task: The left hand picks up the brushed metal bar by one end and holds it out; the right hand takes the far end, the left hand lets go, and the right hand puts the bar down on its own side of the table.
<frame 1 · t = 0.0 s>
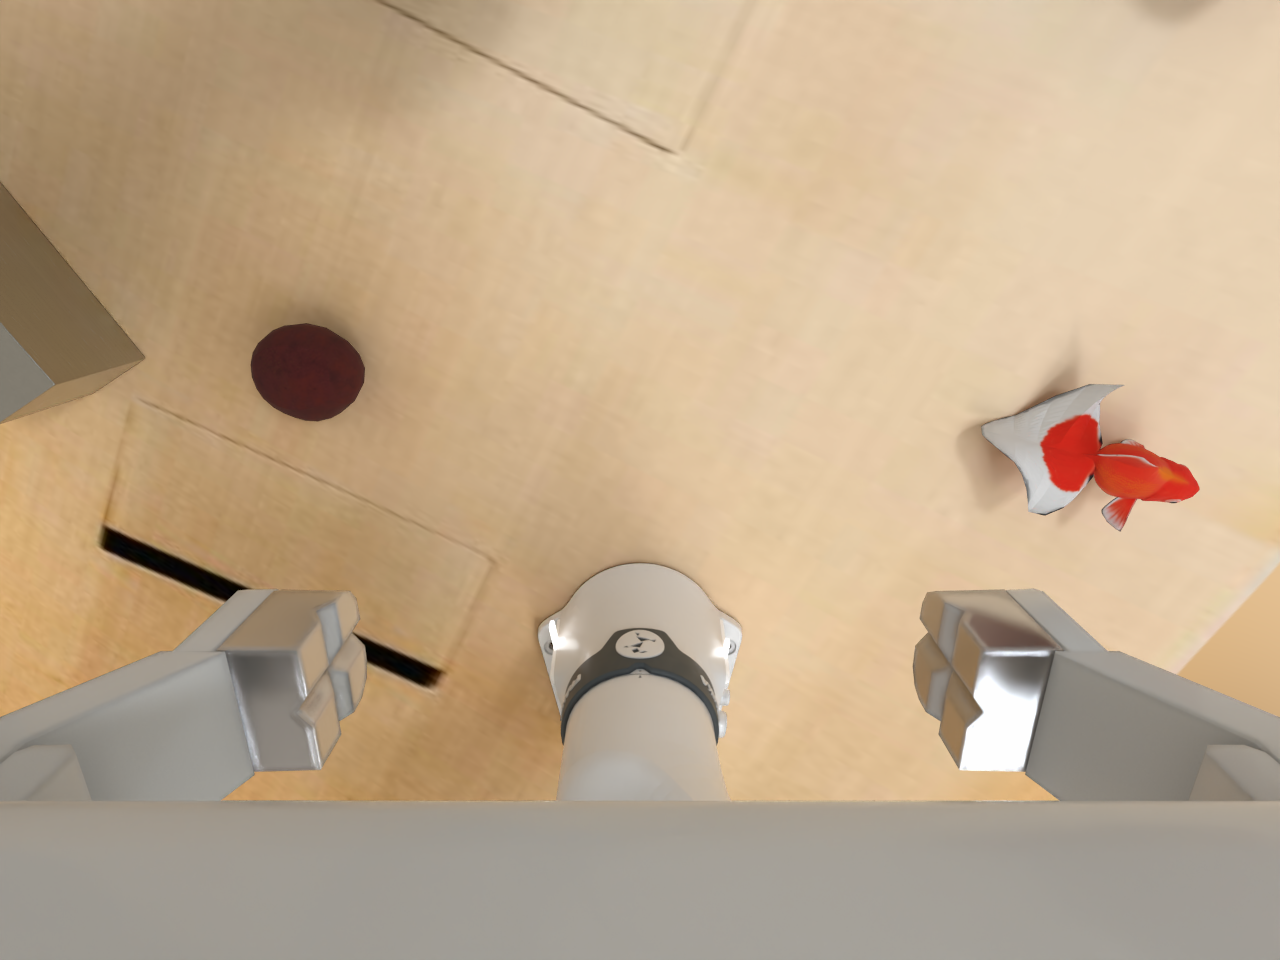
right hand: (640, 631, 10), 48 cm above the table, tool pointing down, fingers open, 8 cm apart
fish: (1055, 446, 60), on the table
dark red ball: (330, 363, 57), on the table
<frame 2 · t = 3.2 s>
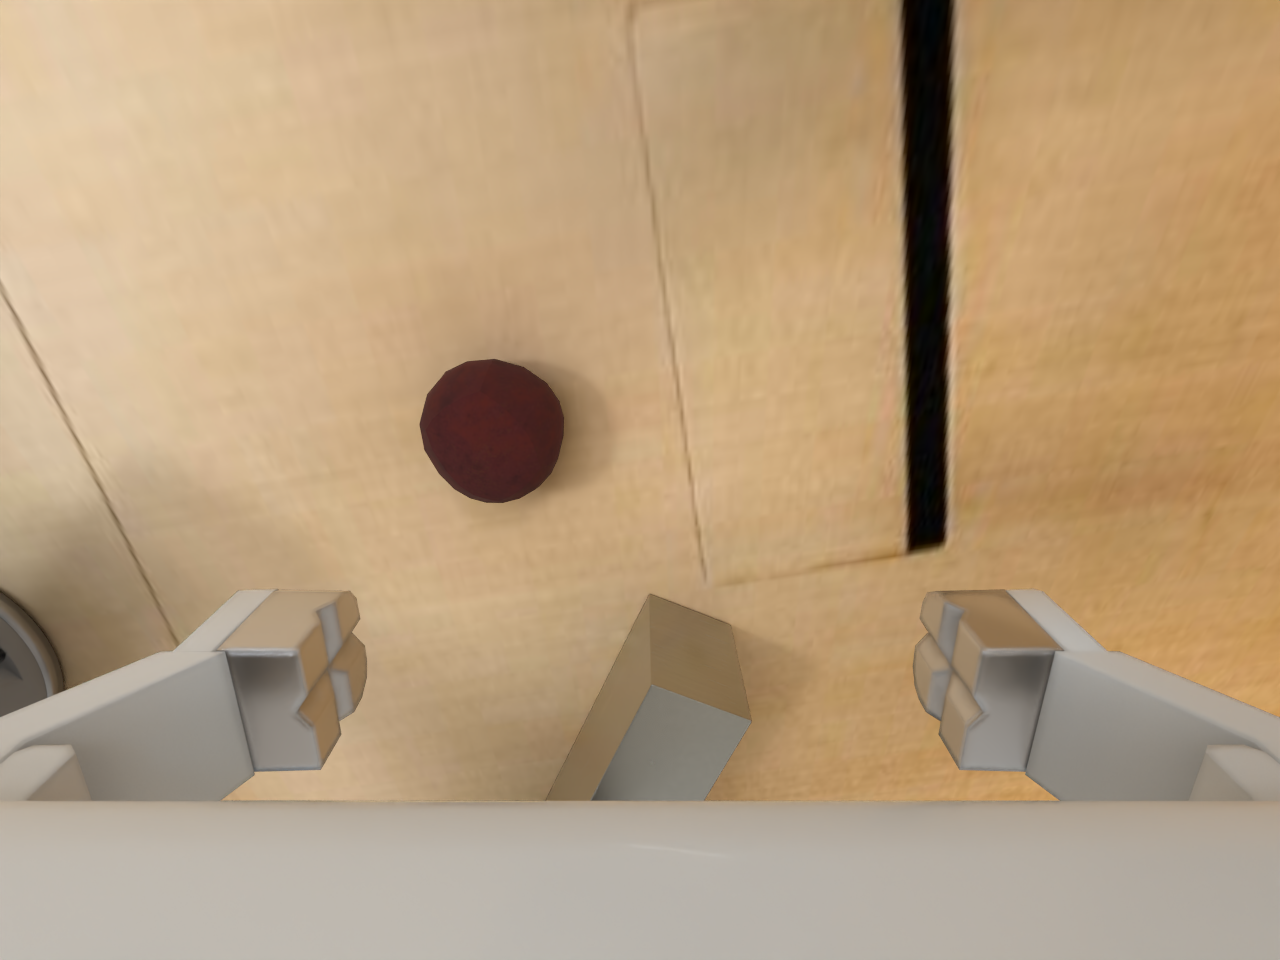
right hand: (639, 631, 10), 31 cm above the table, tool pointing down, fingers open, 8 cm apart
dark red ball: (506, 410, 41), on the table
bar: (610, 759, 50), on the table, touching left hand
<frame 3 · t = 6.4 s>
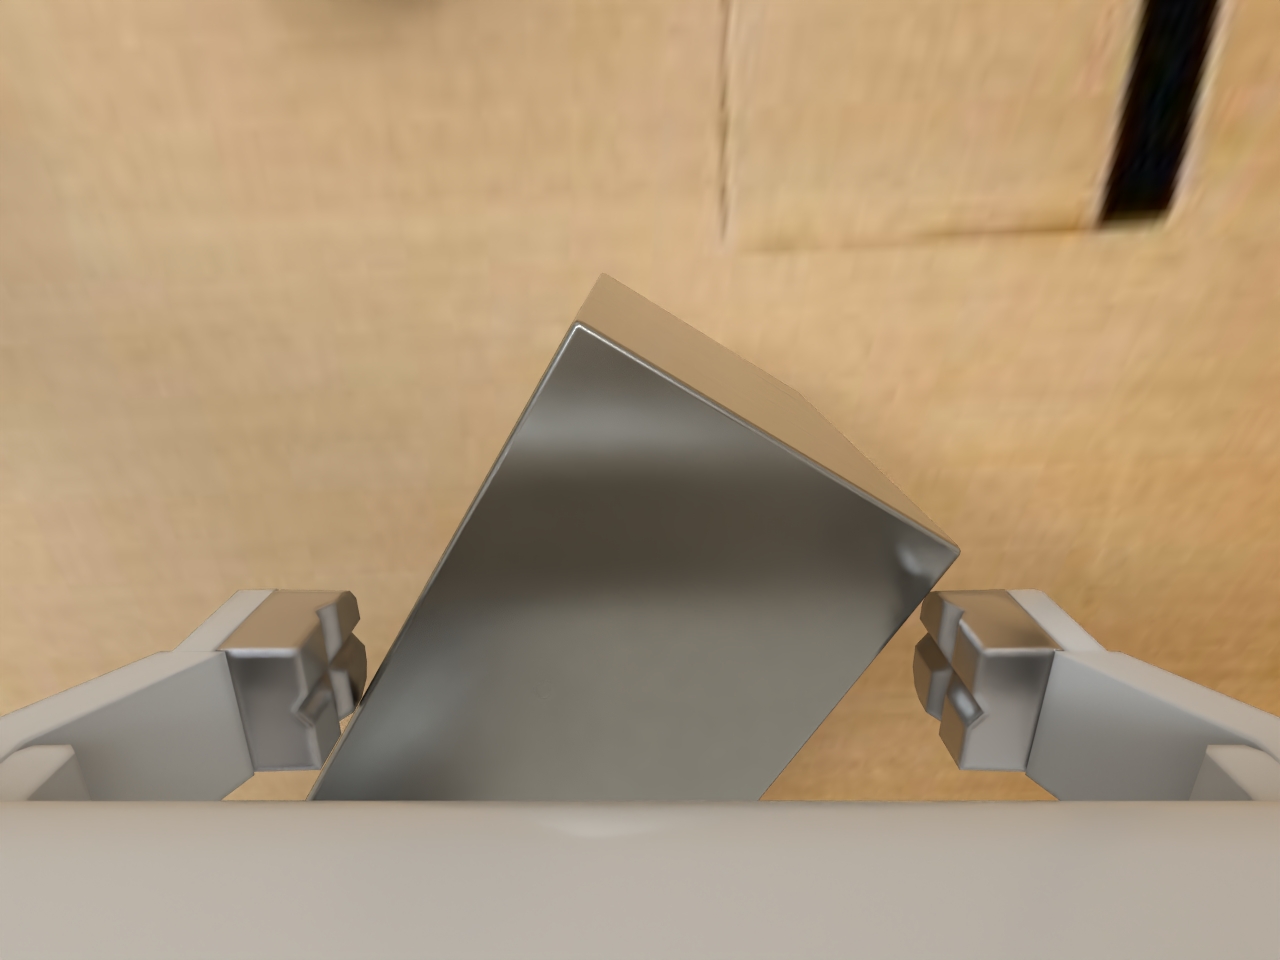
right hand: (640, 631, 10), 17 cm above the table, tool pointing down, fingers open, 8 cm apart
bar: (464, 719, 21), point 8 cm above the table, touching left hand
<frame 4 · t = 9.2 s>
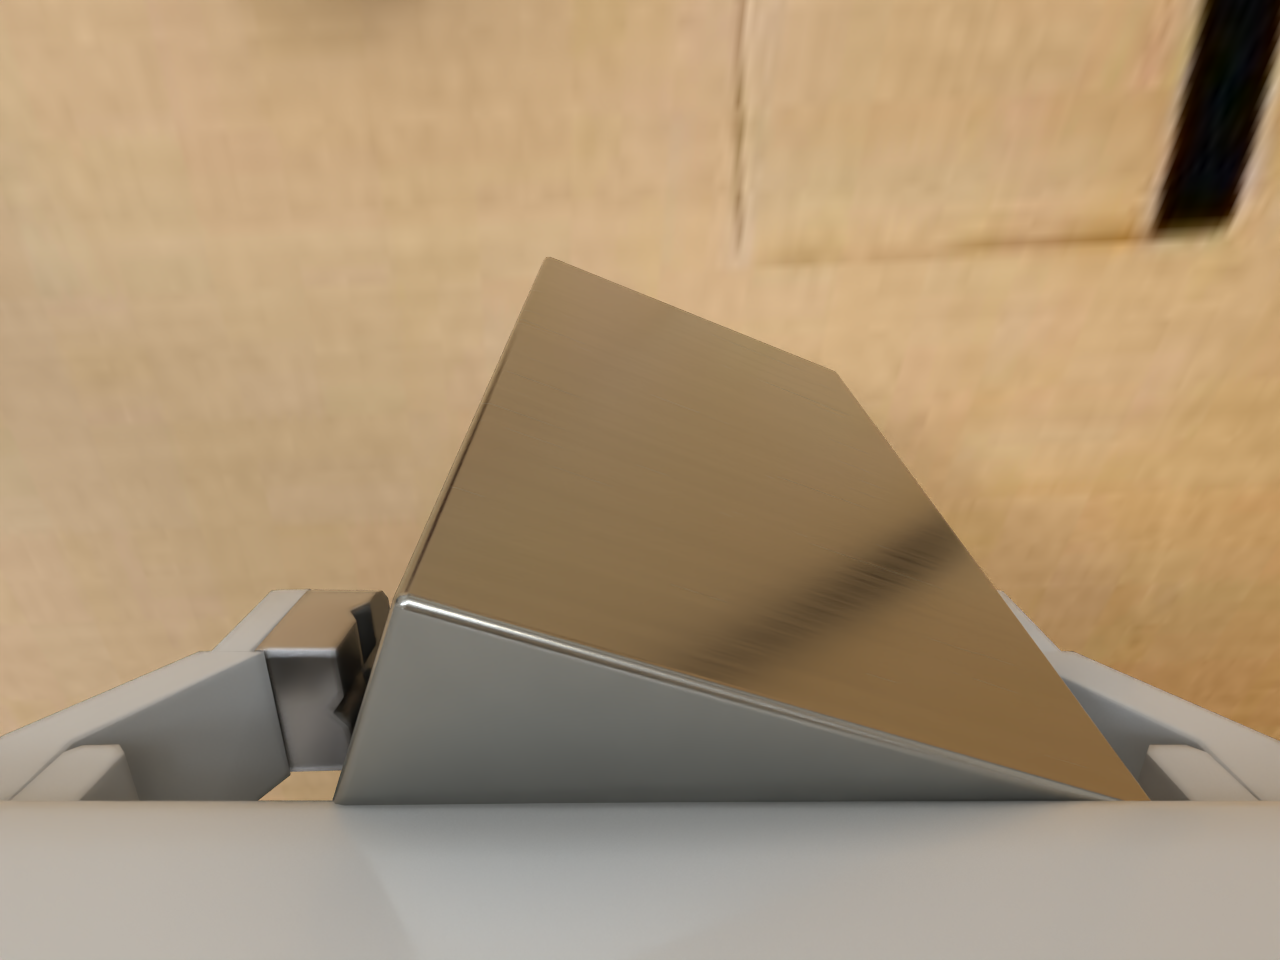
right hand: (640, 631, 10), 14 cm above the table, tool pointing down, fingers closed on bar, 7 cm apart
bar: (491, 774, 19), point 8 cm above the table, tilted 9°, touching right hand, left hand
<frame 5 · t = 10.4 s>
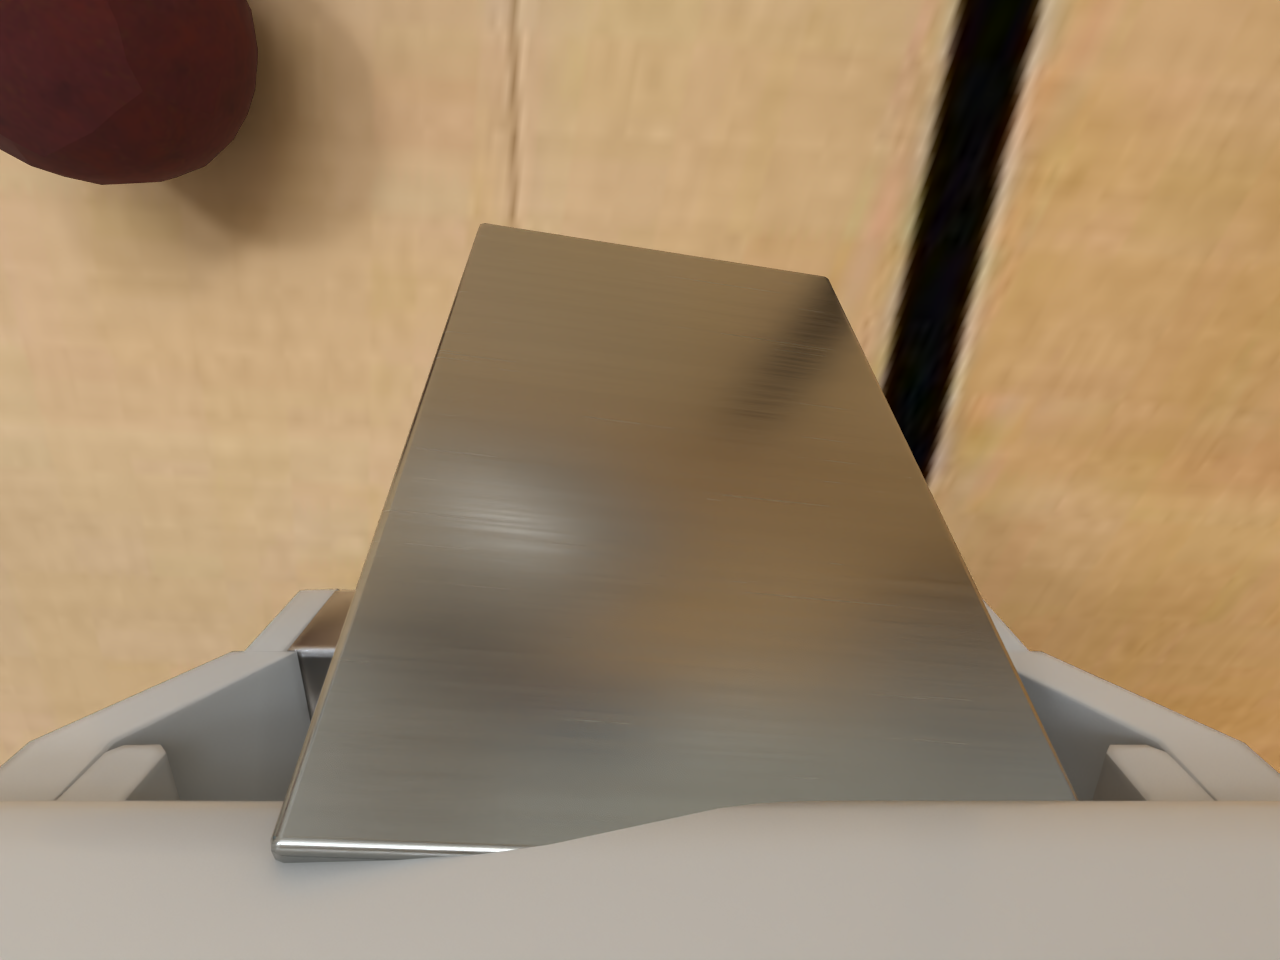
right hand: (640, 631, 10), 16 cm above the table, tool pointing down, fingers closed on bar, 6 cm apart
dark red ball: (175, 50, 21), on the table
bar: (571, 686, 21), point 7 cm above the table, tilted 22°, touching right hand
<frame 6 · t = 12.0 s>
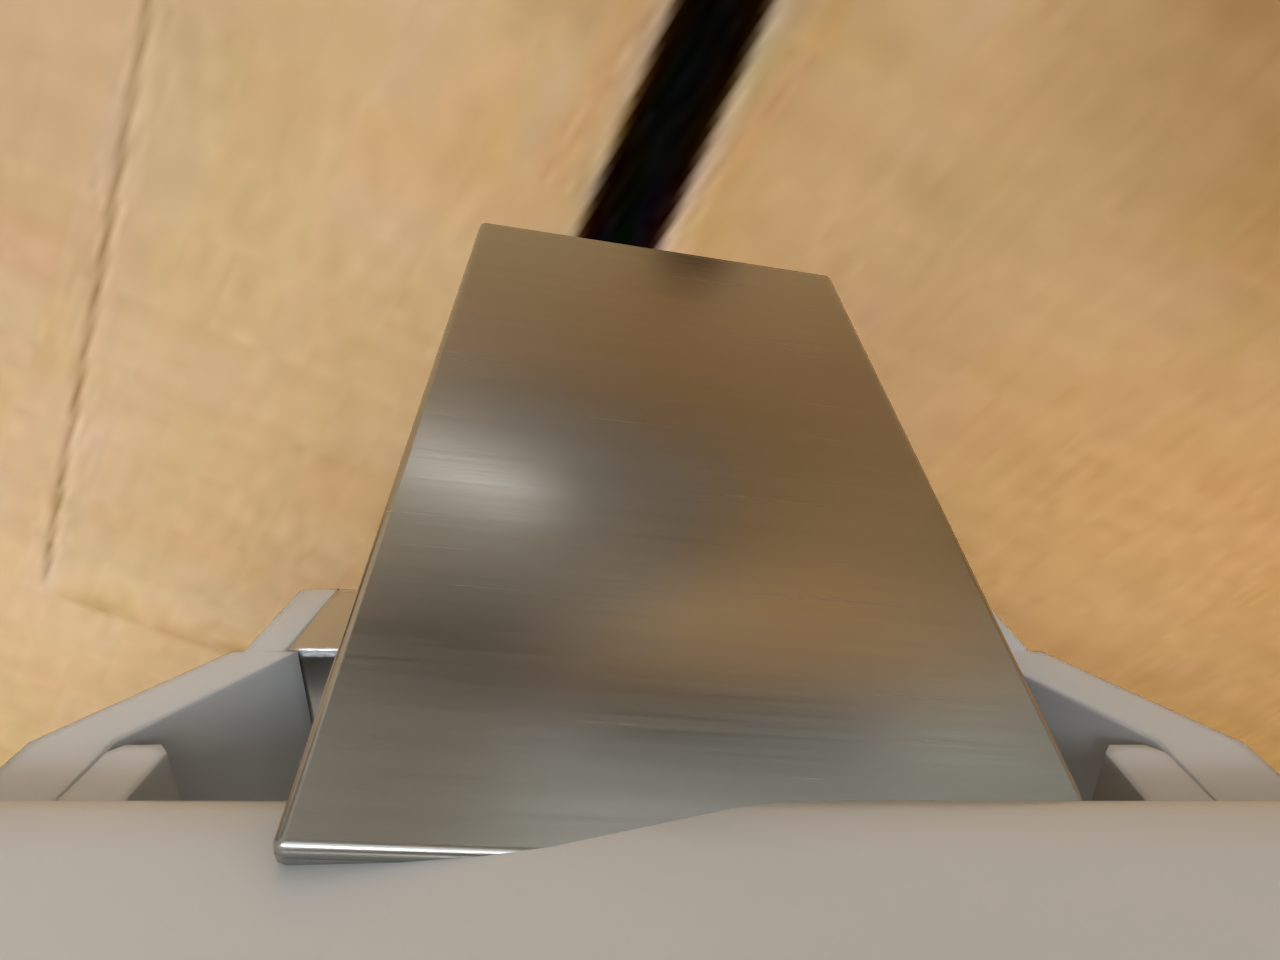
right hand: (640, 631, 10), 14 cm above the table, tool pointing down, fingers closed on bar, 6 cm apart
bar: (572, 686, 21), point 6 cm above the table, tilted 22°, touching right hand
when the right hand's fingers open (6 cm above the table, at t = 13.4 s): bar stays where it is, on the table.
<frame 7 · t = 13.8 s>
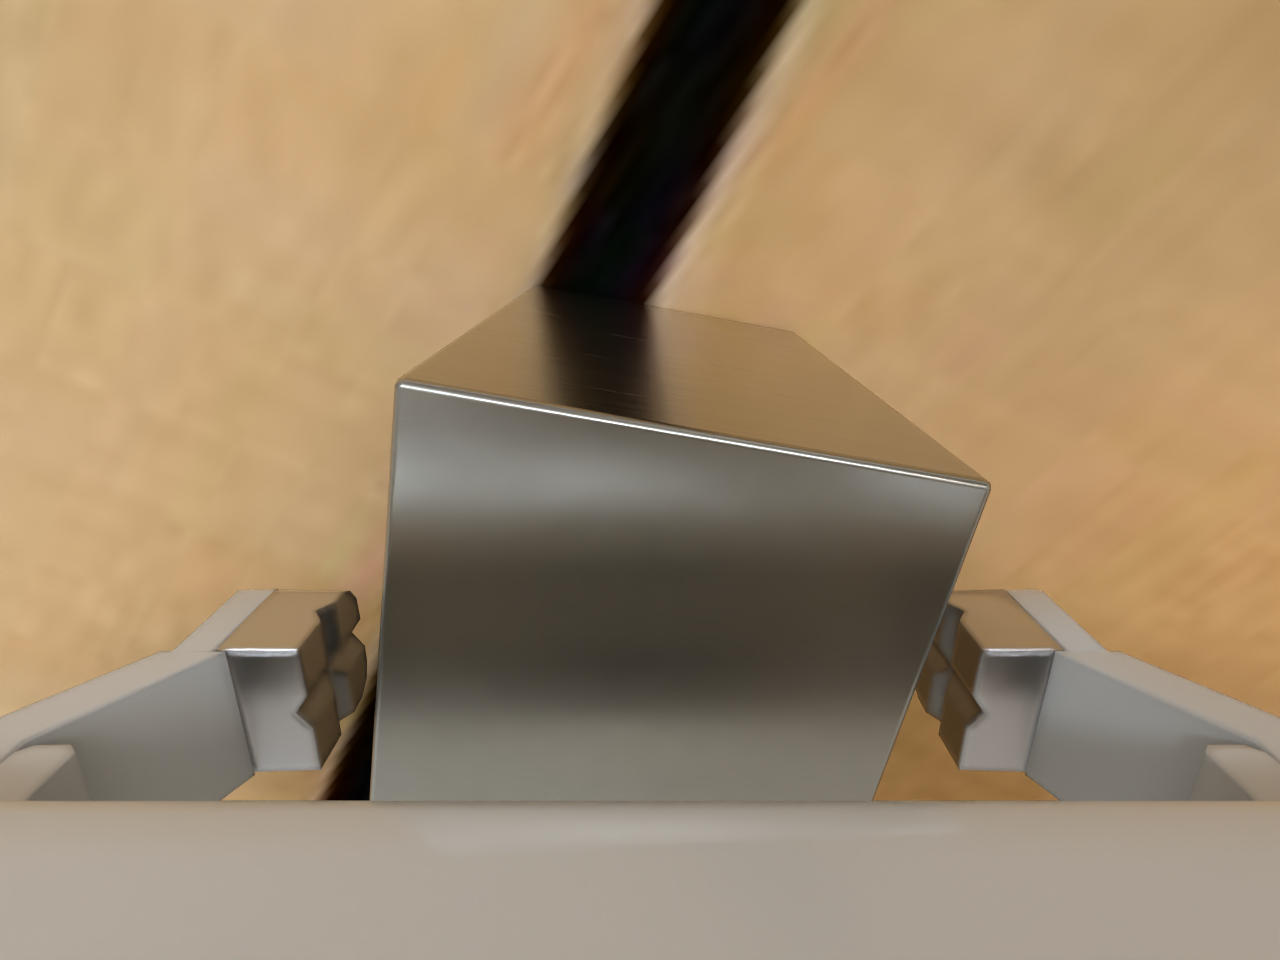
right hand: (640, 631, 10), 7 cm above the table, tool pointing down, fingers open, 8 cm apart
bar: (577, 781, 20), on the table
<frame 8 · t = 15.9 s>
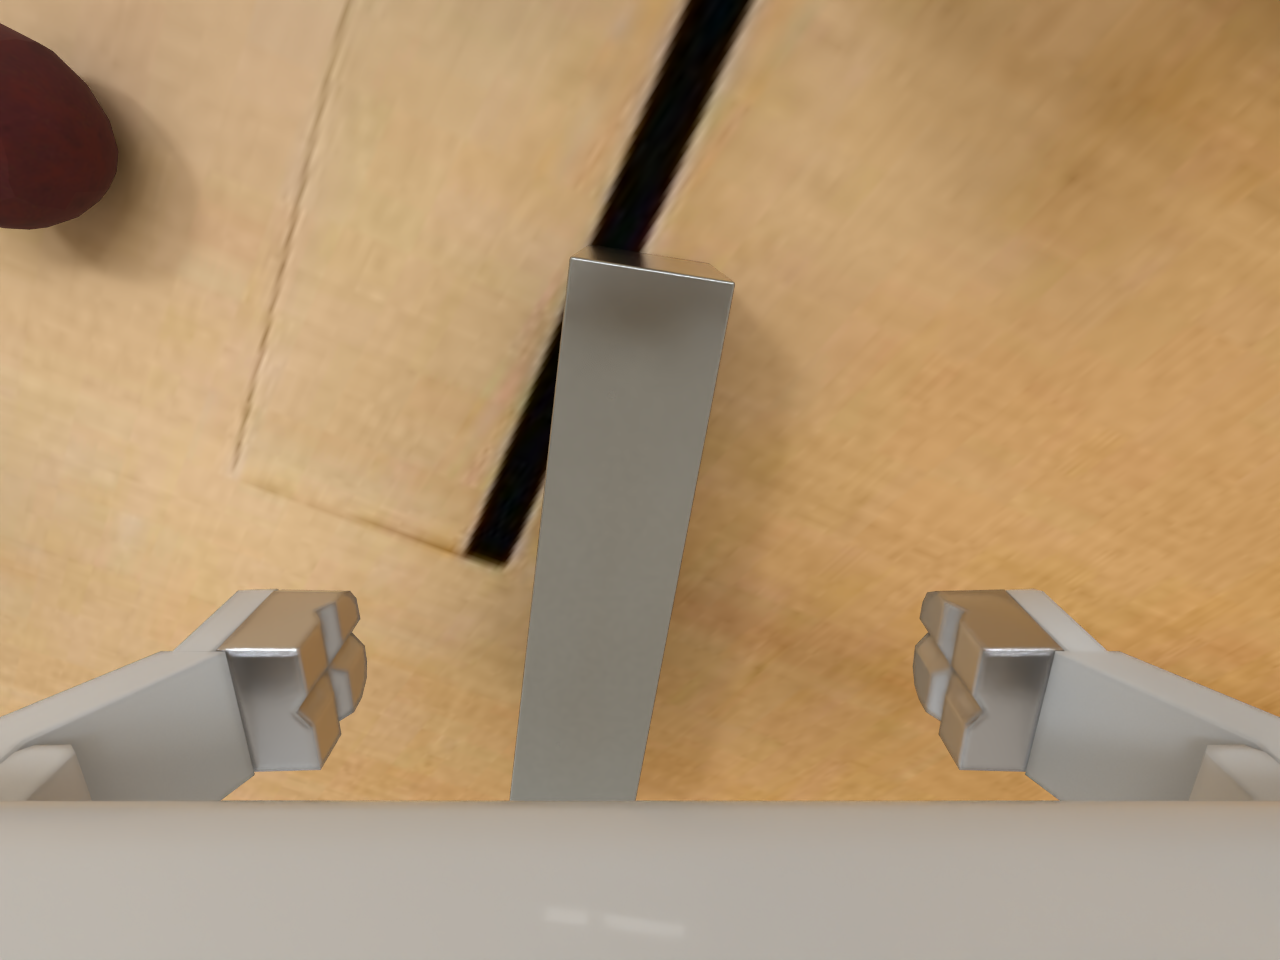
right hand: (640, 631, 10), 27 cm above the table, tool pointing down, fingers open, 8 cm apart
dark red ball: (69, 136, 32), on the table
bar: (611, 511, 38), on the table
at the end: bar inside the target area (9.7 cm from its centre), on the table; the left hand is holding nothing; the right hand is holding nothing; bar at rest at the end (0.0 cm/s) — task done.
